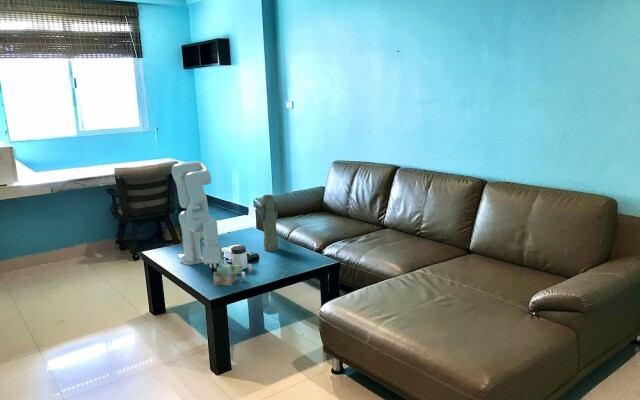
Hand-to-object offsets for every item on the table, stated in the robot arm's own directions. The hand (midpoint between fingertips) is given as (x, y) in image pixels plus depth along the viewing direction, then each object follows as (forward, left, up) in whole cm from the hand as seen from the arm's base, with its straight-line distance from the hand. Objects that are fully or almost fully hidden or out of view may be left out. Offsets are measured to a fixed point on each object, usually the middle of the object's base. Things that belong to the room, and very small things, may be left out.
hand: (214, 274), depth 270 cm
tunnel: (+8, -3, -1) cm, 9 cm away
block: (+6, 0, -1) cm, 6 cm away
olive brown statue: (+20, +47, -2) cm, 51 cm away
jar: (+10, +14, -2) cm, 17 cm away
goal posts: (+18, 0, -1) cm, 18 cm away
